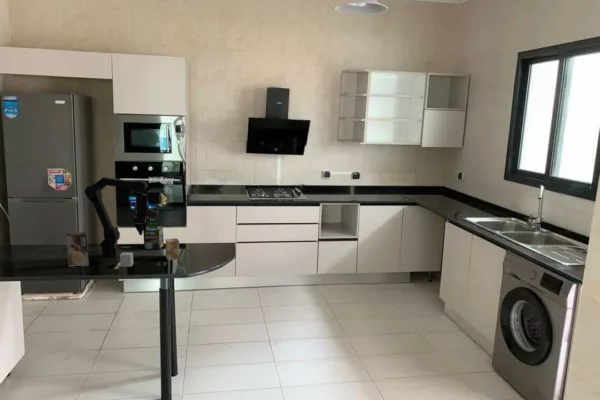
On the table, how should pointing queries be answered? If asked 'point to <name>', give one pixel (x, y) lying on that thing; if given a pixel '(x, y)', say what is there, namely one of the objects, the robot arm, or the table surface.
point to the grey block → (126, 259)
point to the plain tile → (117, 266)
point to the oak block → (172, 249)
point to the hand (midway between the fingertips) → (142, 233)
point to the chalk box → (153, 237)
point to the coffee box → (77, 249)
